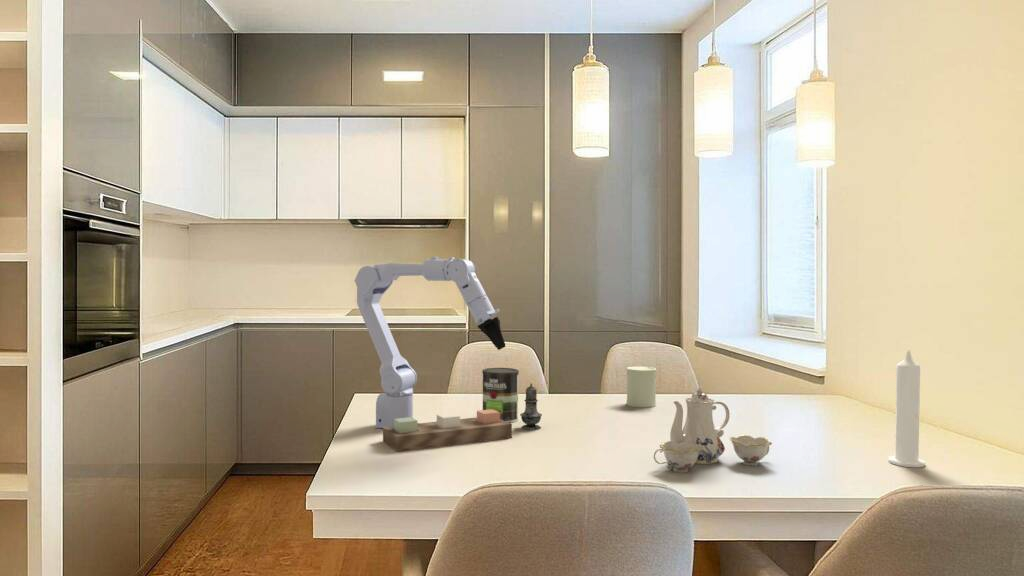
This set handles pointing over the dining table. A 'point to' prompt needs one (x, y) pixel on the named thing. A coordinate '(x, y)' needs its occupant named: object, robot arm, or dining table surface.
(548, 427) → the dining table surface
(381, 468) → the dining table surface
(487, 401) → the coffee can
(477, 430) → the brown long flat block
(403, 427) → the sage key
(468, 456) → the dining table surface
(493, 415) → the terracotta key
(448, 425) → the offwhite key
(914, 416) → the candle
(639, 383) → the can
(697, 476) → the dining table surface
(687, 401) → the chinaware
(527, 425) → the salt shaker
